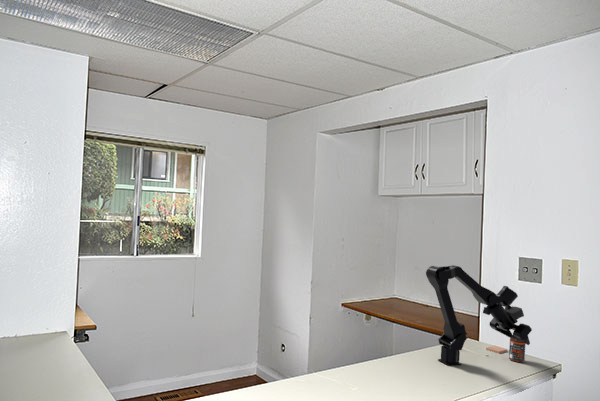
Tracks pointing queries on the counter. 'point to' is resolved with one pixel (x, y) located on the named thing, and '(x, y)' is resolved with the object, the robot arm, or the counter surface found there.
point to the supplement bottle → (516, 350)
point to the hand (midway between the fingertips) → (520, 340)
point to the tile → (496, 349)
